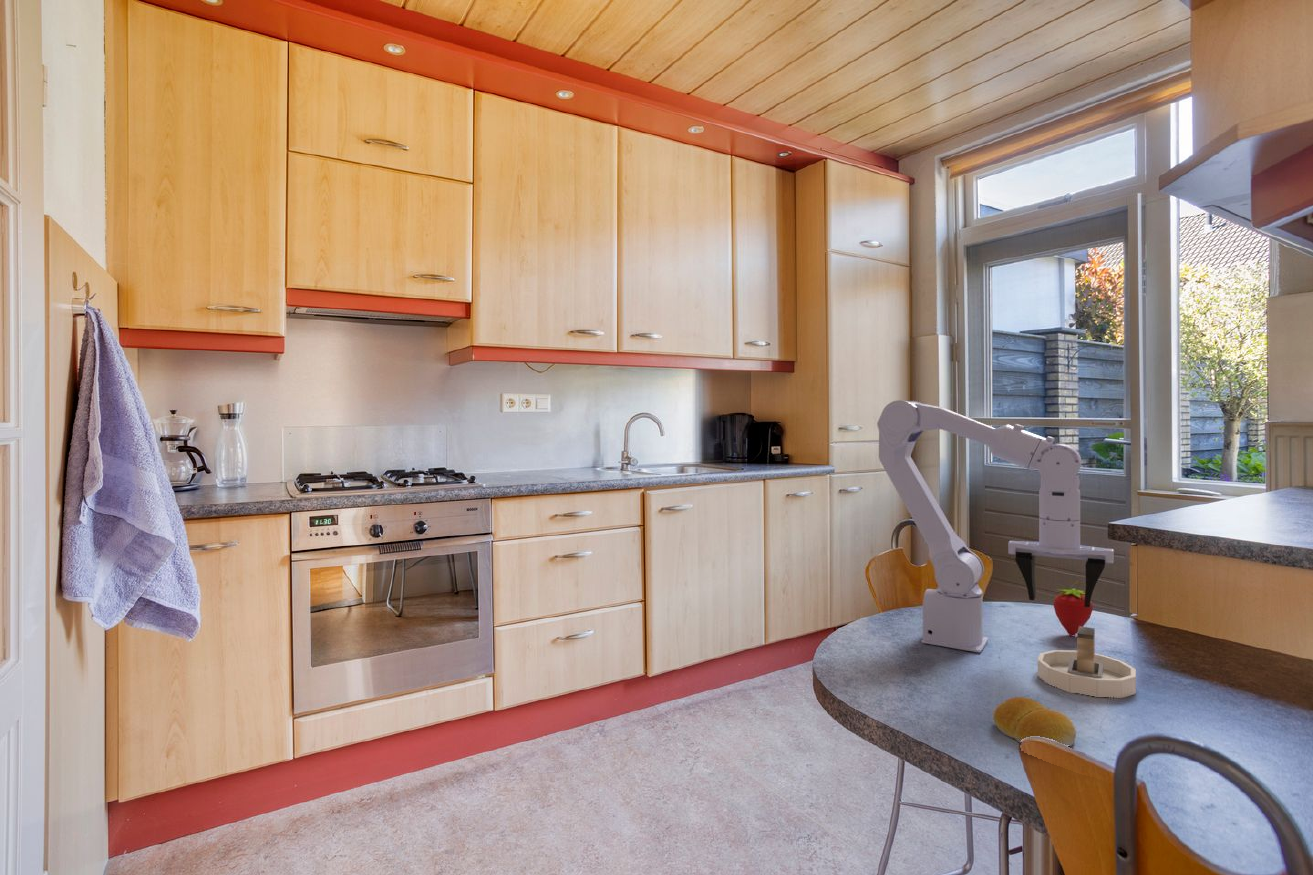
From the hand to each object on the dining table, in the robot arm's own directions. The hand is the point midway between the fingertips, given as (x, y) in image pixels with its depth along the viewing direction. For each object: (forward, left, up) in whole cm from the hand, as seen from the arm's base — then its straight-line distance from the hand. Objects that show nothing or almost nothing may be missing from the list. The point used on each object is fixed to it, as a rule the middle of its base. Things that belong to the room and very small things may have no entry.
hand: (1059, 602), depth 109 cm
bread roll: (0, -31, -10) cm, 32 cm away
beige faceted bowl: (+4, -8, -9) cm, 13 cm away
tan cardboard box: (+4, -8, -9) cm, 13 cm away
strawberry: (+1, +15, -10) cm, 18 cm away
